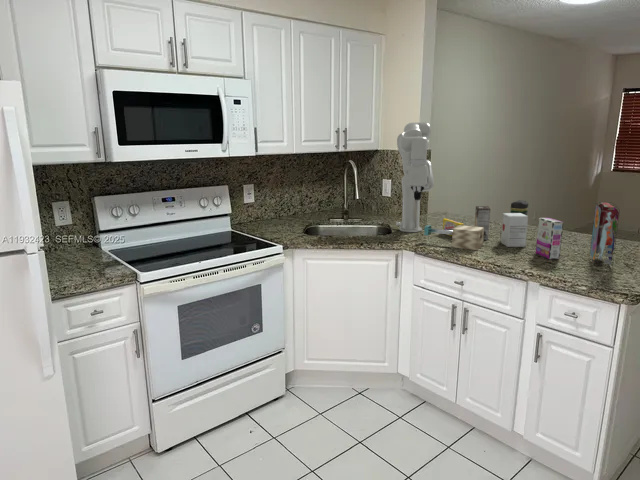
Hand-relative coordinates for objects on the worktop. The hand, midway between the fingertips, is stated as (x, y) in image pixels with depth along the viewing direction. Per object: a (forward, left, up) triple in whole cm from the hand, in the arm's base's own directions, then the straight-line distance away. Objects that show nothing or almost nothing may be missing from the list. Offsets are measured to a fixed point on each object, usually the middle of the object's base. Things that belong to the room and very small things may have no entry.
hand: (417, 199), depth 227 cm
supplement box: (+44, +14, -21) cm, 51 cm away
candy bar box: (+61, -1, -21) cm, 65 cm away
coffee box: (+27, +22, -21) cm, 41 cm away
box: (+80, +2, -21) cm, 83 cm away
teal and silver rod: (+14, 0, -17) cm, 22 cm away
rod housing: (+26, 0, -21) cm, 33 cm away
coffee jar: (+42, +36, -21) cm, 59 cm away
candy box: (+13, +19, -21) cm, 31 cm away
